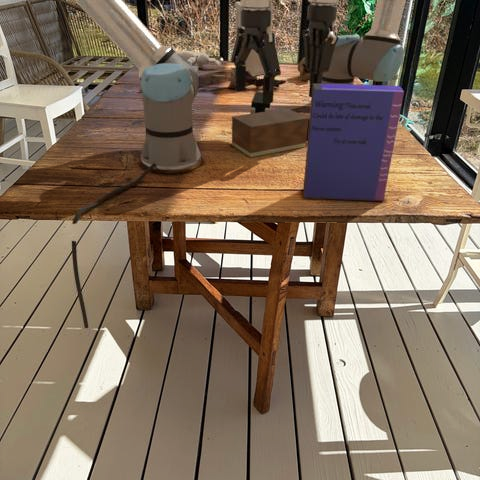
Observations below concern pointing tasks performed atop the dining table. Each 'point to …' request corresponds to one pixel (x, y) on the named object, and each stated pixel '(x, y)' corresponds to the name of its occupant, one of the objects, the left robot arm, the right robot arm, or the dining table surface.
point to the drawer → (308, 124)
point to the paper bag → (253, 59)
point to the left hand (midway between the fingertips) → (253, 96)
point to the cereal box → (351, 141)
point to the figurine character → (259, 104)
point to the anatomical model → (303, 70)
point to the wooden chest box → (269, 132)
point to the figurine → (249, 79)
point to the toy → (197, 58)
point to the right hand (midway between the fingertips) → (314, 96)
